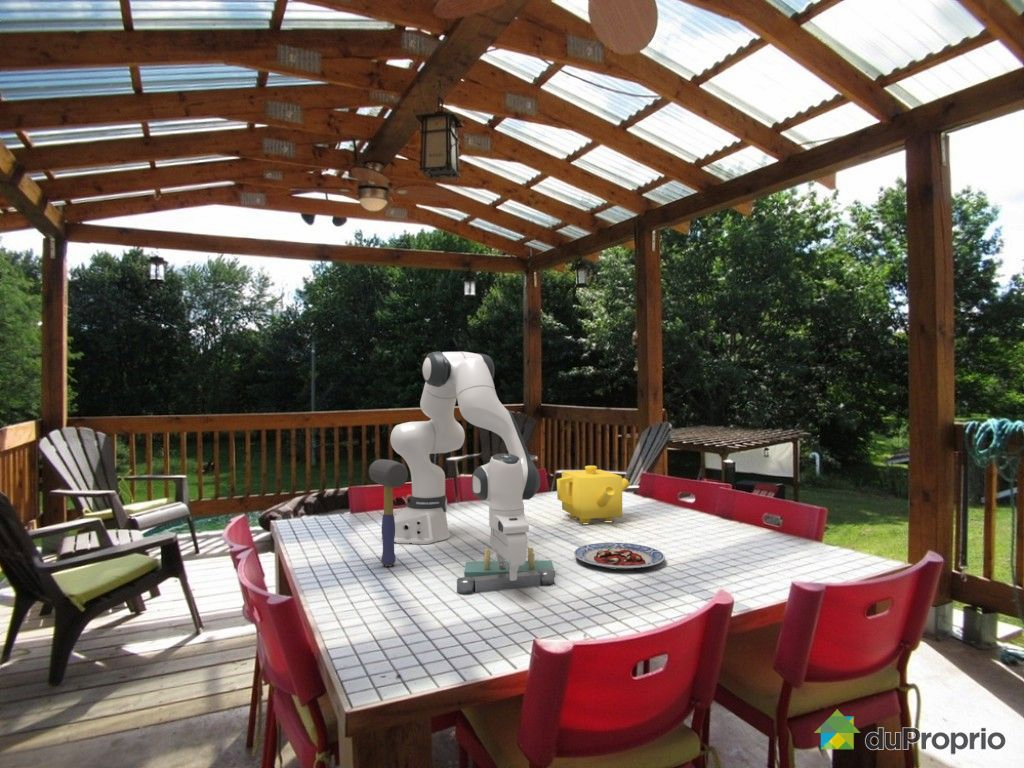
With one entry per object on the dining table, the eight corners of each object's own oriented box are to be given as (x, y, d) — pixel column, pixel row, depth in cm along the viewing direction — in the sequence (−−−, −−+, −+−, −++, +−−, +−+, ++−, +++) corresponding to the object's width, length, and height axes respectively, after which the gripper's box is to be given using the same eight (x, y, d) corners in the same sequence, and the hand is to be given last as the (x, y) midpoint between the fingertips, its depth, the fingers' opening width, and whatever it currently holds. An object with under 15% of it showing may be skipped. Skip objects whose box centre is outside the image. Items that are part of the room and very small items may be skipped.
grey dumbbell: (458, 595, 149) (458, 583, 149) (455, 589, 154) (455, 577, 154) (556, 585, 157) (556, 573, 157) (550, 580, 161) (550, 568, 161)
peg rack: (464, 577, 163) (464, 557, 163) (466, 566, 173) (466, 547, 173) (554, 576, 164) (554, 555, 164) (551, 565, 174) (551, 546, 174)
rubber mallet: (410, 568, 171) (410, 460, 171) (386, 573, 167) (385, 463, 167) (390, 558, 181) (390, 456, 181) (367, 563, 177) (366, 458, 177)
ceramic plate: (680, 572, 168) (680, 561, 168) (588, 577, 163) (588, 566, 163) (644, 547, 193) (644, 538, 193) (564, 551, 189) (564, 542, 189)
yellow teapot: (652, 526, 221) (652, 470, 221) (576, 532, 212) (576, 474, 212) (609, 507, 254) (609, 459, 254) (542, 512, 246) (542, 461, 246)
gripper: (484, 512, 164) (484, 564, 164) (505, 528, 144) (506, 587, 144) (507, 510, 166) (507, 562, 166) (531, 526, 146) (531, 585, 146)
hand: (507, 574), depth 155 cm, fingers open, 8 cm apart
